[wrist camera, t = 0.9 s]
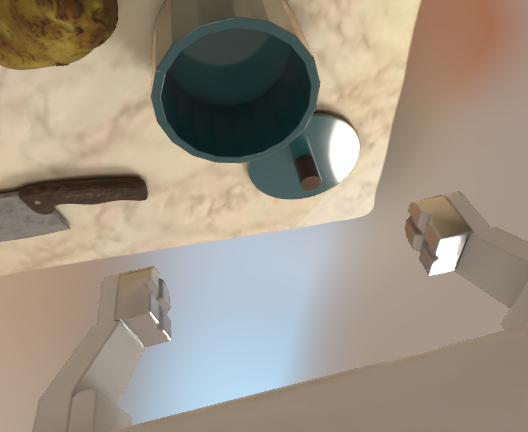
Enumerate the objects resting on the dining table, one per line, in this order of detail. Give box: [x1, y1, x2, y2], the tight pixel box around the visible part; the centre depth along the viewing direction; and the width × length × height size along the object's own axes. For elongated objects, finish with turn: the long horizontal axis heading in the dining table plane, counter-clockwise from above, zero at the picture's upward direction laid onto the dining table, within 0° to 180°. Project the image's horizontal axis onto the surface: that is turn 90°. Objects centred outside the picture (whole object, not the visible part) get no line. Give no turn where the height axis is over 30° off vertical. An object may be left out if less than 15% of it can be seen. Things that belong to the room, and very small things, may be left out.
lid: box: [248, 113, 360, 199], centre depth 51 cm, size 15×15×5 cm
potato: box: [0, 0, 118, 70], centre depth 30 cm, size 8×13×8 cm, turn 98°
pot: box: [151, 0, 320, 163], centre depth 36 cm, size 14×15×9 cm
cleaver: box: [0, 178, 148, 242], centre depth 51 cm, size 29×10×2 cm, turn 96°
